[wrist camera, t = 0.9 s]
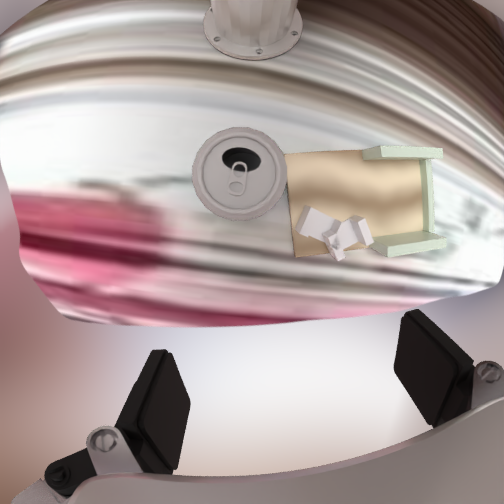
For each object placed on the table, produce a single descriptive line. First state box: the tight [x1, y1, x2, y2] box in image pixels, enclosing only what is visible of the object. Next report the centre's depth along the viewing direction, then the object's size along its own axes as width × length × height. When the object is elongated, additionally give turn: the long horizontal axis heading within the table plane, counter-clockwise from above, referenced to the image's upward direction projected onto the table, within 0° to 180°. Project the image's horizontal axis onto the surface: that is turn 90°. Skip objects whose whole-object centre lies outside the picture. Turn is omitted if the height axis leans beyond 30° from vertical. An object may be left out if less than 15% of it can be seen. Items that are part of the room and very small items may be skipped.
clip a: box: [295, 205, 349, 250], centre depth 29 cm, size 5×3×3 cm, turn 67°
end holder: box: [362, 146, 446, 258], centre depth 28 cm, size 12×10×5 cm
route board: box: [284, 150, 423, 257], centre depth 31 cm, size 12×20×1 cm, turn 97°
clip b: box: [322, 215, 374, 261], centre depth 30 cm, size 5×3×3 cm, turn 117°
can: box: [192, 127, 287, 220], centre depth 25 cm, size 8×8×12 cm
